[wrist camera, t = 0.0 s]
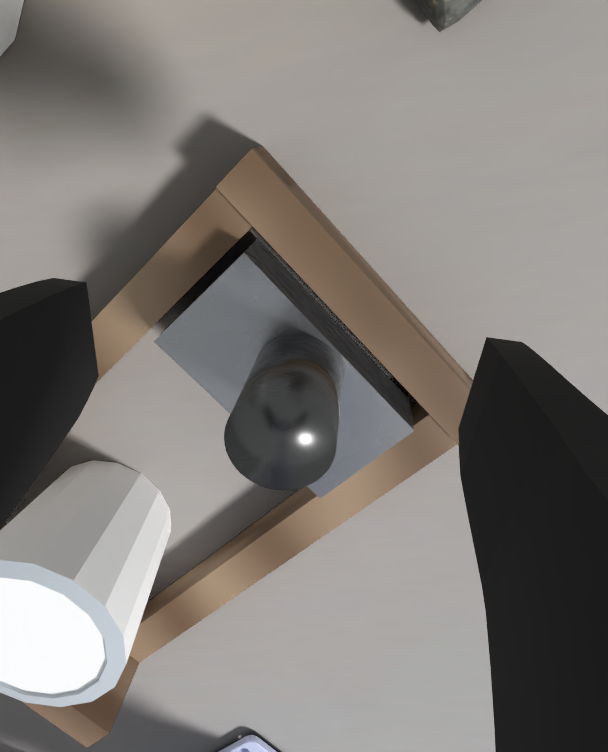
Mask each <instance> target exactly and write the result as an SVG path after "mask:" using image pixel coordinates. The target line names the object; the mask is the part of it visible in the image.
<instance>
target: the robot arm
mask: <svg viewBox="0 0 608 752" xmlns="http://www.w3.org/2000/svg"><path fill="white" fill-rule="evenodd" d="M98 377H99V374H98V367H97V359H96V352H95V344H94V336H93V329H92V321H91V314H90V306H89V299H88V291H87V284H86V282H78V281H71V280H64V279H56V278H52V279H47V280H42V281H38V282H34V283H30V284H27V285H23V286H20V287H17V288H14V289H11V290H8V291H5V292H2V293H0V529H1V528H2V526H3V524H4V523H5V521H6V520H7V518H8V517H9V515H10V514H11V512H12V511H13V509H14V508H15V507H16V505H17V504H18V502H19V501H20V500H21V498H22V497H23V495H24V494H25V493H26V491H27V490H28V488H29V487H30V486H31V484H32V483H33V481H34V480H35V479H36V477H37V476H38V475H39V473H40V472H41V470H42V469H43V468H44V466H45V465H46V463H47V462H48V461H49V459H50V458H51V456H52V455H53V454H54V452H55V451H56V449H57V448H58V447H59V445H60V444H61V442H62V441H63V439H64V438H65V437H66V435H67V434H68V432H69V431H70V430H71V428H72V427H73V425H74V424H75V422H76V421H77V419H78V417H79V416H80V414H81V412H82V410H83V408H84V406H85V404H86V402H87V400H88V398H89V396H90V394H91V392H92V390H93V388H94V385H95V383H96V381H97V379H98ZM458 433H459V458H460V475H461V481H462V486H463V492H464V497H465V502H466V507H467V513H468V518H469V523H470V528H471V533H472V538H473V543H474V548H475V553H476V558H477V563H478V568H479V573H480V578H481V583H482V589H483V596H484V602H485V609H486V619H487V630H488V642H489V654H490V665H491V680H492V695H493V710H494V725H495V745H496V752H608V415H607V414H606V413H605V412H603V411H602V410H601V409H600V408H599V407H597V406H596V405H595V404H594V403H593V402H592V401H590V400H589V399H588V398H587V397H586V396H585V395H583V394H582V393H581V392H580V391H579V390H578V389H577V388H575V387H574V386H573V385H572V384H571V383H570V382H569V381H568V380H566V379H565V378H564V377H563V376H562V375H561V374H560V373H559V372H557V371H556V370H555V369H554V368H553V367H552V366H551V365H550V364H548V363H547V362H546V361H545V360H544V359H543V358H542V357H540V356H539V355H538V354H537V353H536V352H535V351H533V350H532V349H531V348H529V347H528V346H527V345H525V344H524V343H522V342H517V341H510V340H502V339H495V338H488V337H487V338H486V341H485V344H484V347H483V351H482V354H481V357H480V360H479V364H478V367H477V370H476V373H475V376H474V380H473V383H472V386H471V389H470V393H469V396H468V399H467V402H466V405H465V409H464V412H463V415H462V418H461V421H460V425H459V428H458ZM219 752H277V751H275V750H274V749H273V748H271V747H270V746H269V745H268V744H266V743H265V742H264V741H262V740H261V739H260V738H258V737H257V736H254V735H248V736H246V737H244V738H242V739H240V740H238V741H237V742H235V743H233V744H231V745H229V746H228V747H226V748H224V749H222V750H221V751H219Z"/></svg>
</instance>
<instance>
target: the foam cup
mask: <svg viewBox="0 0 608 752" xmlns="http://www.w3.org/2000/svg"><path fill="white" fill-rule="evenodd" d="M23 2H24V0H0V56H1V55H2V54H3V53H4V52H5V50H6V49H7V48H8V47H9V46H10V45H11V44H12V42H13V41H14V40H15V37H16V33H17V28H18V24H19V20H20V15H21V11H22V7H23Z"/></svg>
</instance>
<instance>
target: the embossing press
mask: <svg viewBox="0 0 608 752" xmlns="http://www.w3.org/2000/svg"><path fill="white" fill-rule="evenodd" d="M416 1H417V3H418V4H419V6H420V7H421V9H422V10H423V12H424V13H425V15H426V16H427V18H428V19H429V21H430V22H431V24H432V25H433V26H434V27H435V28H436V29H437V30H438V31H439V32H441V31H442V30H444V29H446V28H447V27H449V26H451V25H452V24H454V23H456V22H458V21H459V20H460V19H461V18H462V17H463V16H465V15H466V14H467V13H468V12H469V11H470V10H471V9H473V8H474V7H475V6H476V5H477V4H478V3H479V2H480V1H482V0H416Z"/></svg>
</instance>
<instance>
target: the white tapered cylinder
mask: <svg viewBox="0 0 608 752" xmlns="http://www.w3.org/2000/svg"><path fill="white" fill-rule="evenodd" d="M170 532H171V520H170V509H169V507H168V505H167V503H166V502H165V500H164V498H163V496H162V494H161V492H160V490H159V489H158V488H157V487H155V486H154V485H153V484H152V483H151V482H150V481H149V480H148V479H147V478H146V477H144V476H143V475H142V474H141V473H139V472H137V471H134V470H132V469H130V468H128V467H125V466H123V465H121V464H119V463H114V462H103V461H93V460H92V461H89V462H85V463H82V464H78V465H74V466H71V467H70V468H69V469H68V470H67V471H65V472H64V473H63V474H62V475H61V476H60V477H59V478H58V479H56V480H55V481H54V482H53V483H52V484H51V485H50V486H49V487H48V488H46V489H45V490H44V491H43V492H42V493H41V494H40V495H39V496H38V497H37V498H35V499H34V500H33V501H32V502H31V503H30V504H29V505H28V506H27V507H26V508H24V509H23V510H22V511H21V512H20V513H19V514H18V515H17V516H16V517H14V518H13V519H12V520H11V521H10V522H9V523H8V524H7V525H6V526H5V527H3V528H2V529H1V530H0V693H3V694H5V695H8V696H10V697H13V698H15V699H18V700H20V701H23V702H25V703H33V704H40V705H48V706H56V707H64V706H70V705H76V704H82V703H88V702H92V701H94V700H95V699H97V698H99V697H100V696H102V695H103V694H105V693H106V692H108V691H109V690H111V689H113V688H114V687H115V686H116V684H117V682H118V680H119V678H120V676H121V674H122V672H123V670H124V668H125V666H126V664H127V661H128V658H129V655H130V652H131V649H132V646H133V643H134V640H135V637H136V634H137V631H138V628H139V625H140V622H141V619H142V616H143V613H144V610H145V607H146V604H147V601H148V598H149V595H150V592H151V589H152V586H153V583H154V580H155V577H156V574H157V571H158V568H159V565H160V562H161V559H162V556H163V553H164V550H165V547H166V544H167V541H168V538H169V535H170Z"/></svg>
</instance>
